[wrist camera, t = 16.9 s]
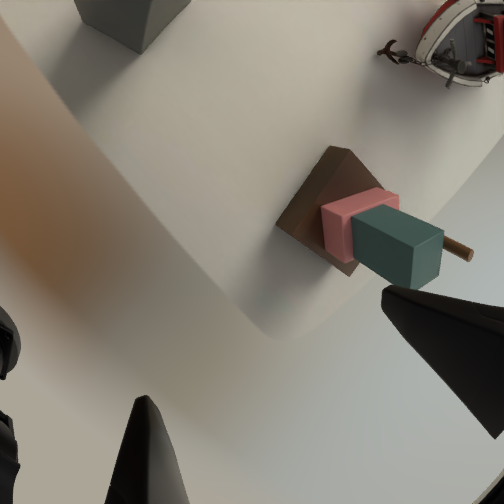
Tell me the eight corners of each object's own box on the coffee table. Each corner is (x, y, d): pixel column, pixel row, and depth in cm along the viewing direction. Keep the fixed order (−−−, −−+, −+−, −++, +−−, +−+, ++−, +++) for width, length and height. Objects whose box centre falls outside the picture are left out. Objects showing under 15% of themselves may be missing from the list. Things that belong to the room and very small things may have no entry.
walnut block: (332, 264, 27) (349, 277, 25) (274, 224, 23) (290, 235, 21) (378, 197, 26) (397, 205, 24) (329, 145, 22) (350, 149, 20)
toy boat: (494, 51, 26) (586, 103, 15) (358, 102, 28) (496, 193, 16) (485, -23, 17) (591, 17, 5) (325, -15, 18) (511, 10, 6)
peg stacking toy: (324, 250, 23) (417, 317, 15) (319, 205, 21) (426, 261, 13) (377, 227, 24) (469, 277, 16) (376, 186, 22) (478, 227, 14)
